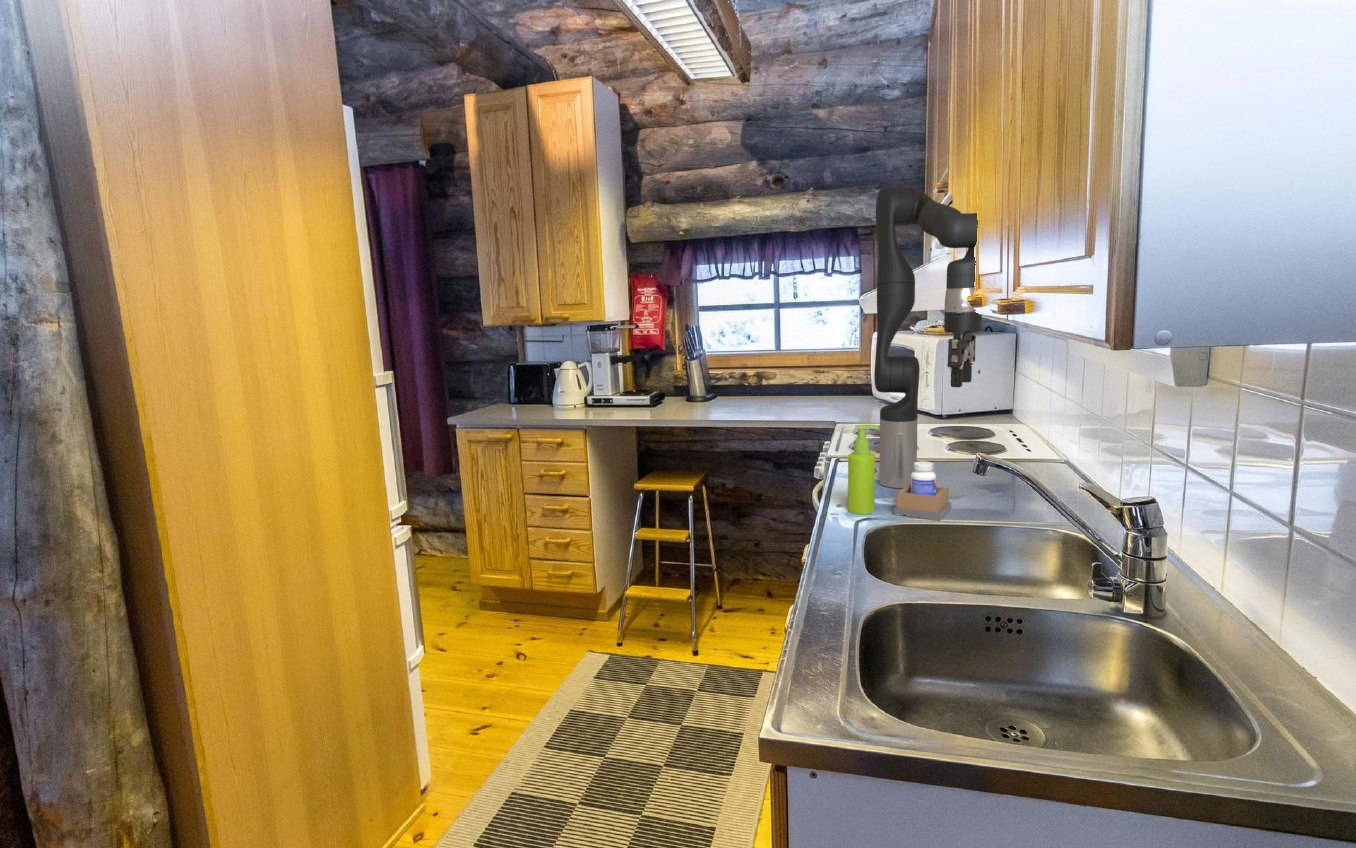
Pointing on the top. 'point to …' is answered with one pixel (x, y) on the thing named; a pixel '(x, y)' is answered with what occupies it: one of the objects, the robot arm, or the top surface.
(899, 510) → the box
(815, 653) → the top surface
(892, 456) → the robot arm
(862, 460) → the soap dispenser
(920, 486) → the pill bottle
